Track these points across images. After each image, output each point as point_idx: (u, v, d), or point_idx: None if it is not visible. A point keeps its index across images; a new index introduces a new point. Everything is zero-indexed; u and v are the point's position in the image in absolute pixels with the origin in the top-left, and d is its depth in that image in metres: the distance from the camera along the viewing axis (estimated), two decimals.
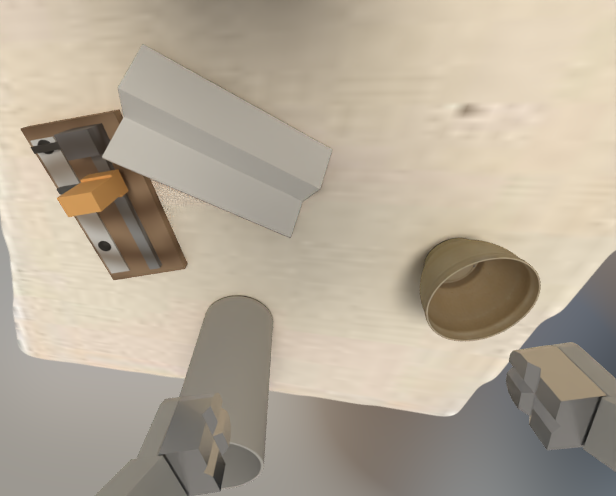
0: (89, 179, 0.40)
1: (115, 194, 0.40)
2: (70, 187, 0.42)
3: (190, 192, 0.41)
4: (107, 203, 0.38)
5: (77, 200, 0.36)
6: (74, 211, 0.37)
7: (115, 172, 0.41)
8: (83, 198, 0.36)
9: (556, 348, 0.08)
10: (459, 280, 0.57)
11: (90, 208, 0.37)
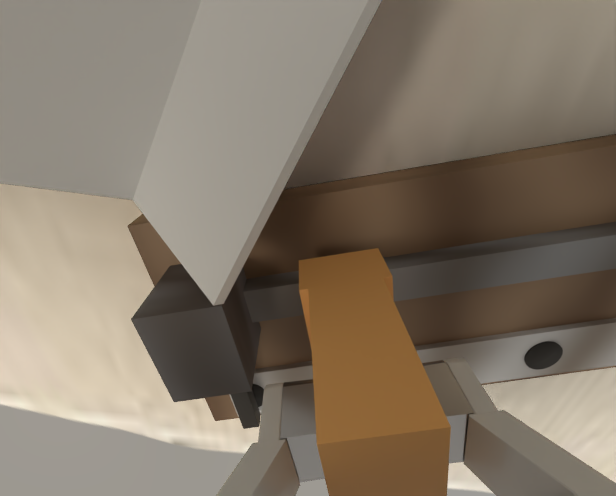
0: None
1: (376, 299, 0.09)
2: None
3: None
4: (406, 358, 0.07)
5: None
6: None
7: (302, 271, 0.11)
8: (353, 477, 0.06)
9: (444, 364, 0.08)
10: None
11: (419, 464, 0.06)
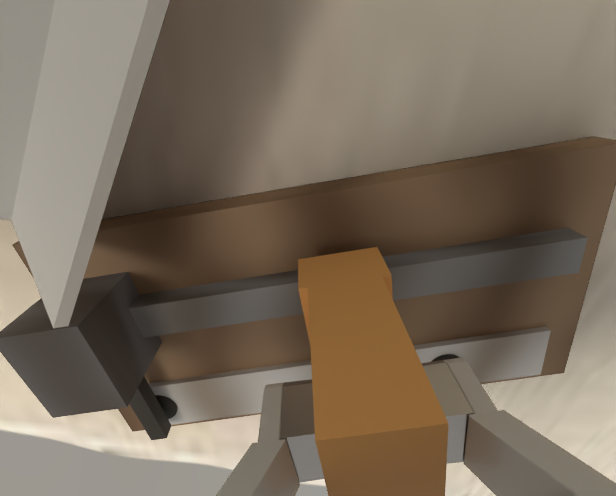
0: None
1: (374, 297, 0.09)
2: None
3: None
4: (405, 355, 0.07)
5: (360, 494, 0.07)
6: None
7: (301, 270, 0.11)
8: (352, 473, 0.06)
9: (444, 364, 0.08)
10: None
11: (417, 461, 0.06)
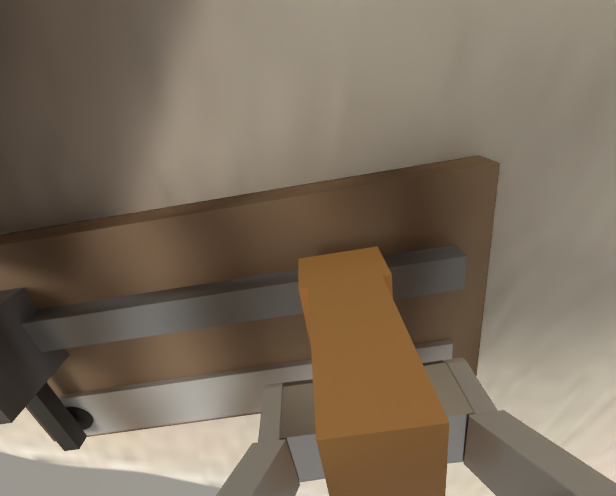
0: None
1: (375, 297, 0.09)
2: None
3: None
4: (406, 355, 0.07)
5: (361, 493, 0.07)
6: None
7: (302, 270, 0.11)
8: (352, 472, 0.06)
9: (444, 364, 0.08)
10: None
11: (418, 460, 0.06)
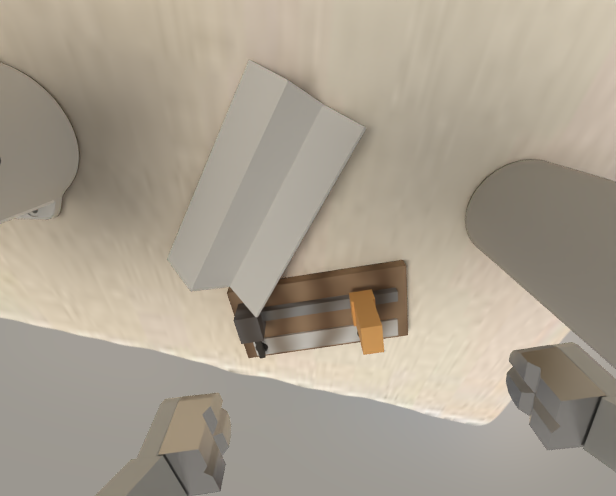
0: (354, 319, 0.41)
1: (370, 304, 0.39)
2: None
3: (293, 248, 0.36)
4: (376, 316, 0.37)
5: (367, 340, 0.36)
6: (378, 345, 0.37)
7: (350, 296, 0.41)
8: (366, 335, 0.36)
9: (556, 348, 0.08)
10: None
11: (377, 333, 0.36)
